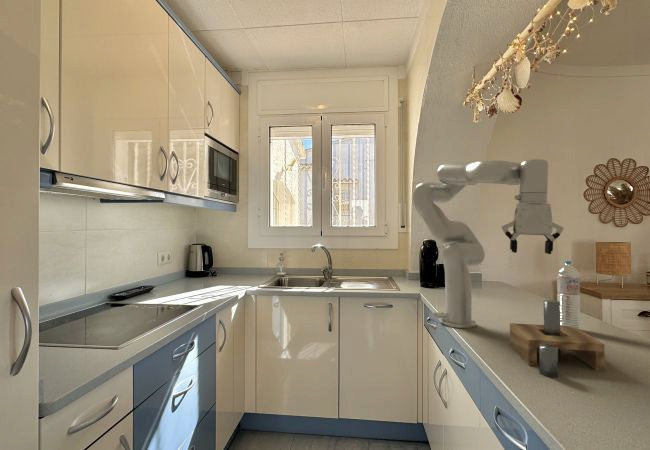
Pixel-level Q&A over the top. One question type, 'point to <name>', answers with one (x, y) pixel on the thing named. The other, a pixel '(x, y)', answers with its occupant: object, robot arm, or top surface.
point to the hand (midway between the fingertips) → (530, 252)
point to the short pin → (548, 360)
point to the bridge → (556, 343)
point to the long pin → (552, 319)
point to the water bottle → (569, 295)
